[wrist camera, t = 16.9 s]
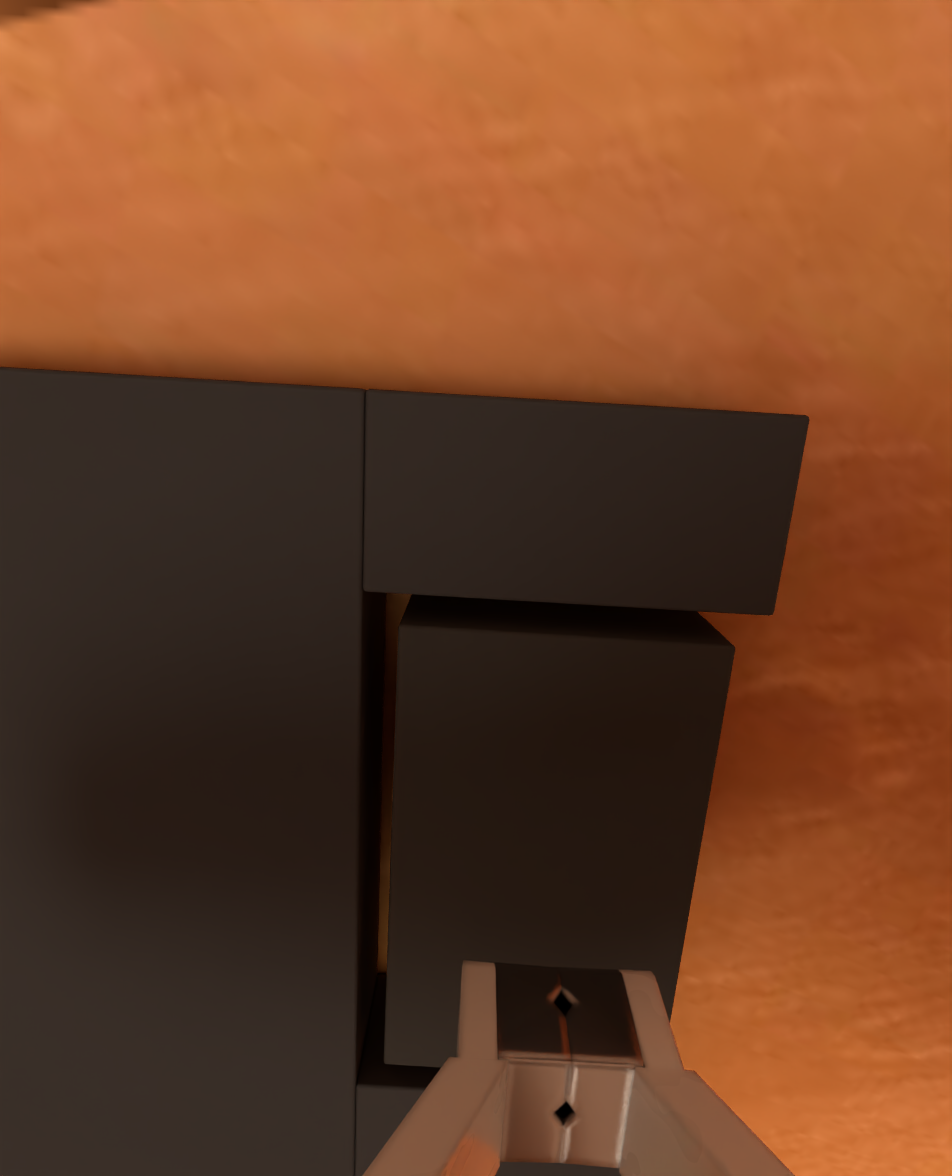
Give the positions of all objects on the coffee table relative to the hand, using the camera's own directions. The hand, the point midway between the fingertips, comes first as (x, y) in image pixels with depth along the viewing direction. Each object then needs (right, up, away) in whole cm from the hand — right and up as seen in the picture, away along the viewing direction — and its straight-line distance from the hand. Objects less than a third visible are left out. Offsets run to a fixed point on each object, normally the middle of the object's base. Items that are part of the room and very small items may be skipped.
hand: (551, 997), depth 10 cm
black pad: (0, +2, +5) cm, 6 cm away
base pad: (-4, +2, +5) cm, 7 cm away
